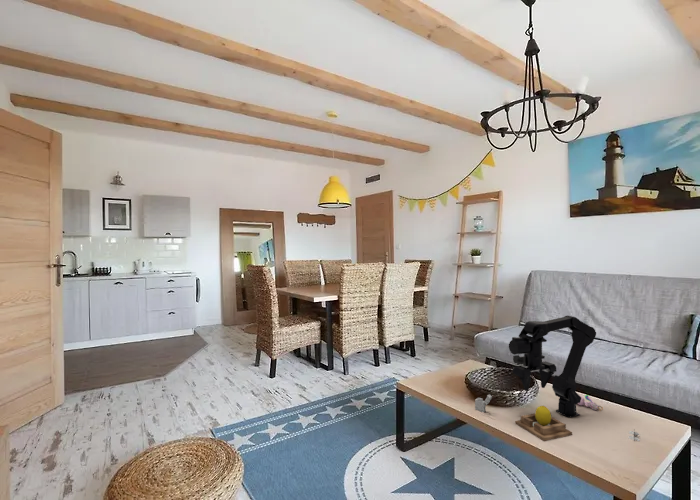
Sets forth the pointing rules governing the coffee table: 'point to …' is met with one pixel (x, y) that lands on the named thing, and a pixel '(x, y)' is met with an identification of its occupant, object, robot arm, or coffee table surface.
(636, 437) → the car cutout
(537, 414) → the lemon
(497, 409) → the coffee table surface
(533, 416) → the tray
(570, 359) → the robot arm
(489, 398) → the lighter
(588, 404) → the unicorn toy
